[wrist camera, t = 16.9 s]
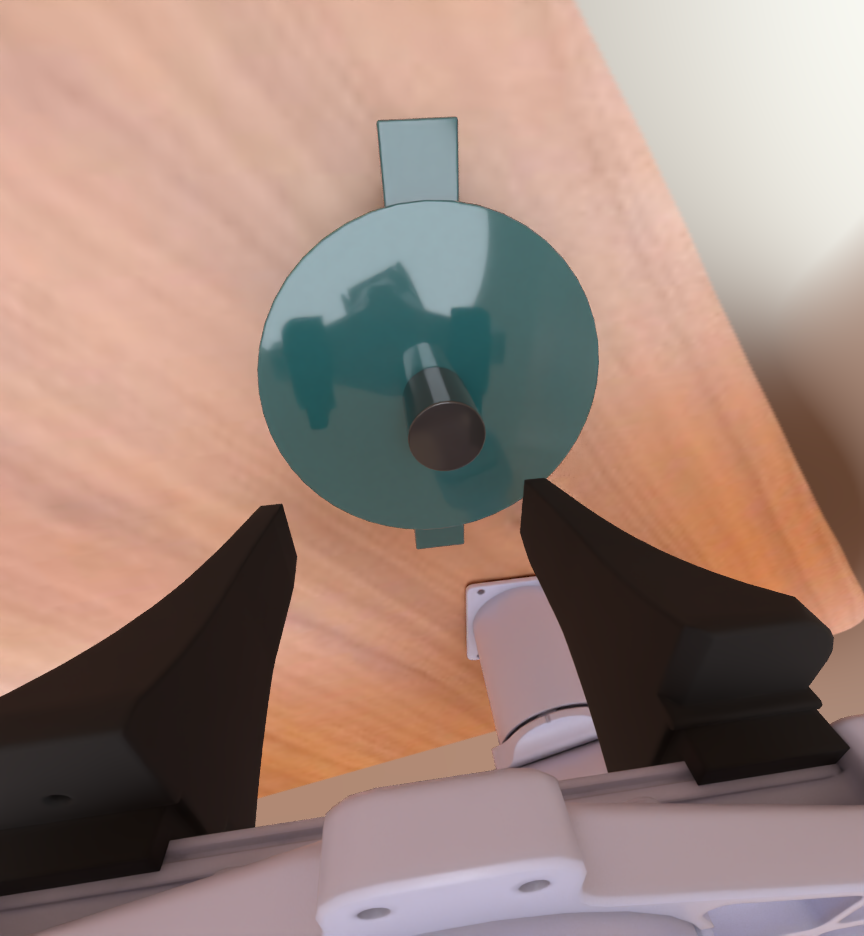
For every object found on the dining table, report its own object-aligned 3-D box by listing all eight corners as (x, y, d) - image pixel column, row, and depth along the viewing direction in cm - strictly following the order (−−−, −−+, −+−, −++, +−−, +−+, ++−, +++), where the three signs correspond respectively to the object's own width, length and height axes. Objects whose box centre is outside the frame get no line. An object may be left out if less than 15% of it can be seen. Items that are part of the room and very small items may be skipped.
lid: (611, 188, 14) (696, 182, 10) (567, 499, 20) (609, 563, 17) (217, 212, 13) (156, 214, 9) (303, 529, 19) (286, 603, 16)
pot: (549, 132, 17) (614, 104, 12) (523, 483, 26) (555, 543, 21) (257, 146, 16) (211, 122, 11) (334, 503, 25) (324, 571, 20)
